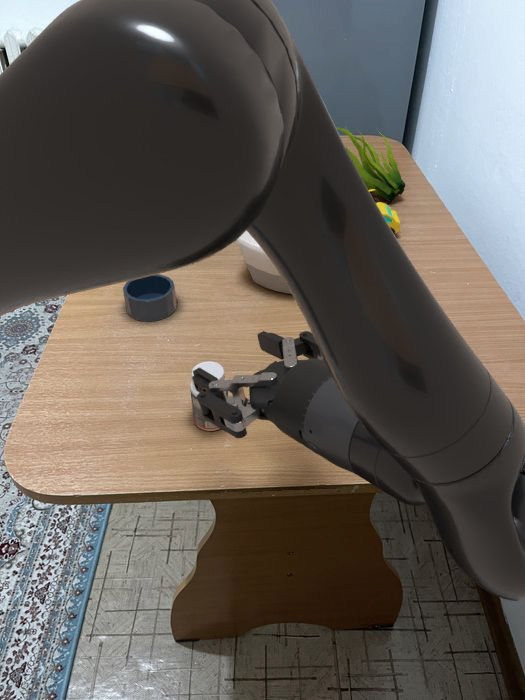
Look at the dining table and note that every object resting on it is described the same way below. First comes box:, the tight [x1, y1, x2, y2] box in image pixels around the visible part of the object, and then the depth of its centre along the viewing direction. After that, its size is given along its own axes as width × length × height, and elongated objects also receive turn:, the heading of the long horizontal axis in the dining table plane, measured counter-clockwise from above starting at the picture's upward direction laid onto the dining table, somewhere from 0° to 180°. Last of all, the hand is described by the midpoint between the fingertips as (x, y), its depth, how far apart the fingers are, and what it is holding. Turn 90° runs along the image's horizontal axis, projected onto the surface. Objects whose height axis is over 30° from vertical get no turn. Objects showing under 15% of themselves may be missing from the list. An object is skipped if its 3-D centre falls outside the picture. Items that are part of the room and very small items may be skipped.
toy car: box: [368, 189, 401, 235], centre depth 113 cm, size 12×8×8 cm, turn 89°
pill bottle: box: [189, 361, 229, 432], centre depth 72 cm, size 5×5×8 cm
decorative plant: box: [335, 126, 406, 203], centre depth 130 cm, size 18×30×15 cm, turn 23°
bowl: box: [235, 231, 292, 295], centre depth 99 cm, size 18×18×9 cm
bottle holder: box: [122, 273, 177, 323], centre depth 93 cm, size 8×8×4 cm
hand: (230, 357), depth 60 cm, fingers open, 8 cm apart
